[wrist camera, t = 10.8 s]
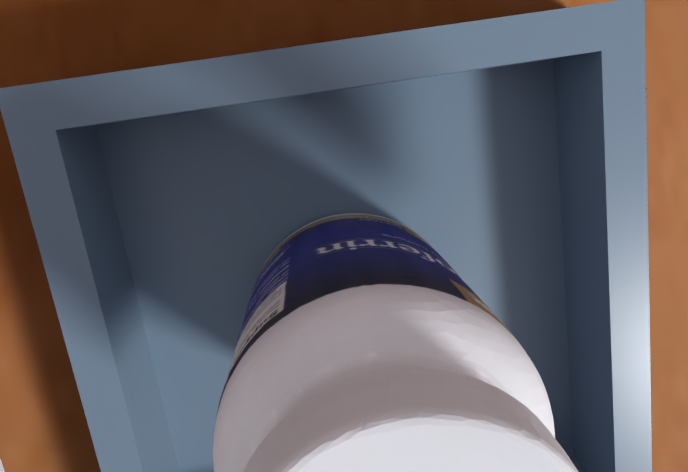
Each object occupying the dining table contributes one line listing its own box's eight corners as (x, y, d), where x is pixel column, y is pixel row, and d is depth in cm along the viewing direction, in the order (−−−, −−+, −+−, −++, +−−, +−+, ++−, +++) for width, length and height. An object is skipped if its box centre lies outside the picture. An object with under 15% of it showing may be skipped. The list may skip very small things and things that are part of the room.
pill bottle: (483, 253, 16) (753, 475, 7) (401, 424, 17) (529, 833, 8) (294, 175, 15) (282, 299, 6) (219, 360, 16) (102, 731, 7)
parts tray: (168, 542, 18) (143, 626, 15) (54, 91, 15) (-6, 88, 12) (598, 468, 19) (652, 535, 16) (579, 16, 15) (644, -4, 13)
